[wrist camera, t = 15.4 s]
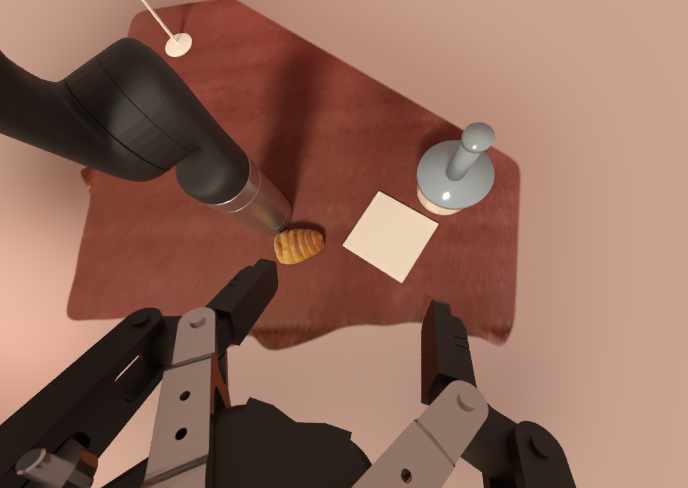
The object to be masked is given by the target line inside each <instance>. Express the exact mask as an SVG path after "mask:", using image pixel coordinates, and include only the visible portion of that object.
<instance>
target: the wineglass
mask: <svg viewBox="0 0 688 488" xmlns="http://www.w3.org/2000/svg"><path fill="white" fill-rule="evenodd" d="M142 2H143V3H144V4H145V5H146V7H147V8H148V9H149V10H150V12H151V13H152V14H153V16H154V17H155V18H156V19H157V21H158V22H159V23H160V24H161V26H162V27H163V28H164V29H165V31H166V32H167V33H168V34H169V36H170V37H171V38H170V39H169V41H168V42H167V44H166V48H165V50H166V53H167V54H168V55H170V56H172V57H177V56H181V55H183V54H184V53H186V52H187V51H188V50H189V48H190V47H191V44H192V39H191V37H190V36H189V35H188V34H185V33H180V34H177V35H174V36H173V35H172V33H171V32H170V31H169V30H168V28H167V27H166V26H165V24H164V23H163V22H162V21H161V19H160V18H159V17H158V15H157V14H156V13H155V12H154V10H153V9H152V8H151V6H150V5H149V4H148V3H147V1H146V0H142Z"/></svg>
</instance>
